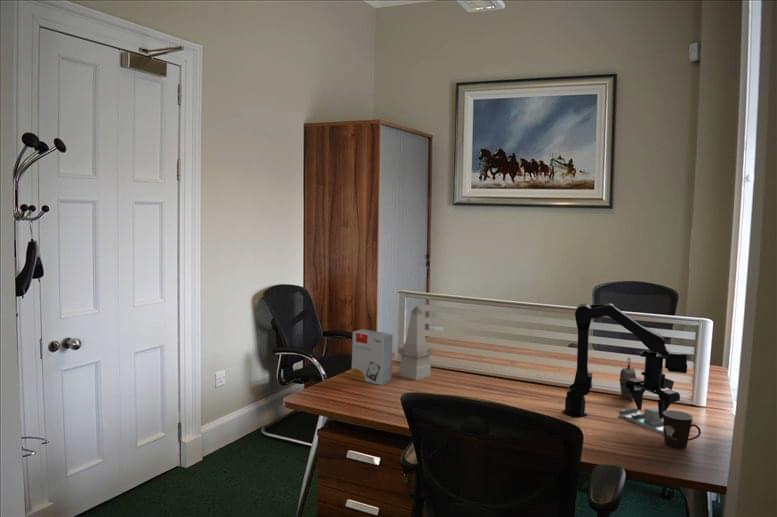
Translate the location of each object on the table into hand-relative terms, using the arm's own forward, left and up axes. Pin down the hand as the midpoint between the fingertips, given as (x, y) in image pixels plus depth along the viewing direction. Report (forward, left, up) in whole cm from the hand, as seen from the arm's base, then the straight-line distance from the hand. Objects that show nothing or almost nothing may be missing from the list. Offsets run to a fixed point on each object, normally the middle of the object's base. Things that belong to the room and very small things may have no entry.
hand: (650, 414), depth 223 cm
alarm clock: (+15, +24, -4) cm, 28 cm away
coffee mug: (-8, -19, -4) cm, 21 cm away
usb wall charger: (0, 0, -3) cm, 3 cm away
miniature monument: (-47, +82, -4) cm, 95 cm away
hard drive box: (-68, +82, -4) cm, 107 cm away
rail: (0, 0, -4) cm, 4 cm away
